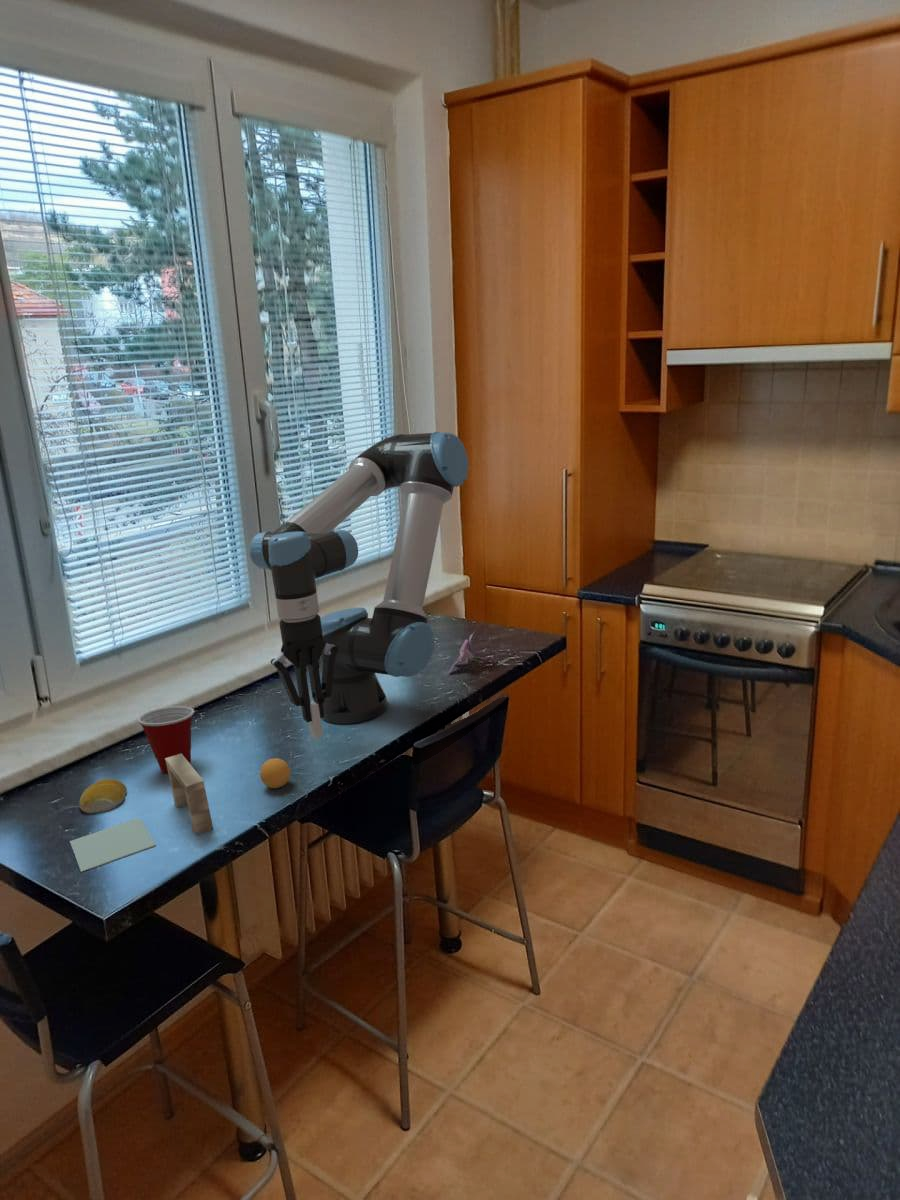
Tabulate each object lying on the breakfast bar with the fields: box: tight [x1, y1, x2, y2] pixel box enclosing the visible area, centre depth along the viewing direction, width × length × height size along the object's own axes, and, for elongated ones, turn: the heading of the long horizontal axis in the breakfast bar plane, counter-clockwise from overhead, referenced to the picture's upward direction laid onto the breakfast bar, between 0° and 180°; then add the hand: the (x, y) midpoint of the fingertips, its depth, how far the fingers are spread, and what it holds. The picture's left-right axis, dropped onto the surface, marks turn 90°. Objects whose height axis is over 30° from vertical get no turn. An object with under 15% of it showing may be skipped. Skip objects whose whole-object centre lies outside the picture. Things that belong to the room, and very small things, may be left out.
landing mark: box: [69, 817, 157, 873], centre depth 147 cm, size 12×12×1 cm
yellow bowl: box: [78, 778, 128, 814], centre depth 163 cm, size 8×9×4 cm
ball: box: [259, 757, 291, 789], centre depth 161 cm, size 6×6×6 cm
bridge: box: [165, 753, 214, 836], centre depth 153 cm, size 3×14×9 cm, turn 32°
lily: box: [448, 630, 482, 674], centre depth 212 cm, size 12×12×10 cm
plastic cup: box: [137, 705, 195, 775], centre depth 173 cm, size 11×11×12 cm
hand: (316, 735), depth 164 cm, fingers closed
